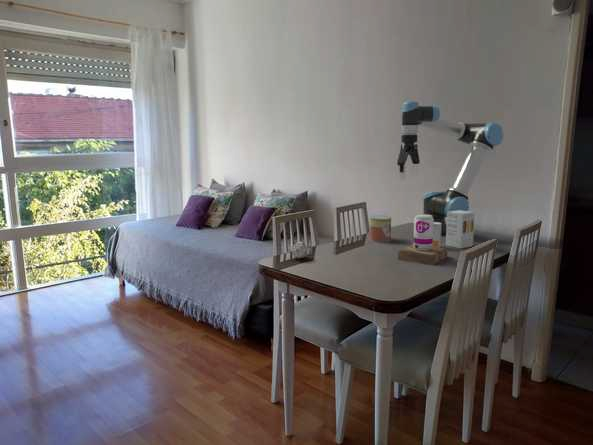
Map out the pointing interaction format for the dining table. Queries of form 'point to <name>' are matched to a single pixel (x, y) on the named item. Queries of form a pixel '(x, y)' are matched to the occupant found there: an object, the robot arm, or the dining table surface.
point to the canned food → (380, 228)
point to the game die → (299, 250)
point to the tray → (423, 255)
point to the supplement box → (460, 228)
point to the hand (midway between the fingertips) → (408, 178)
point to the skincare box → (437, 234)
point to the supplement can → (423, 232)
